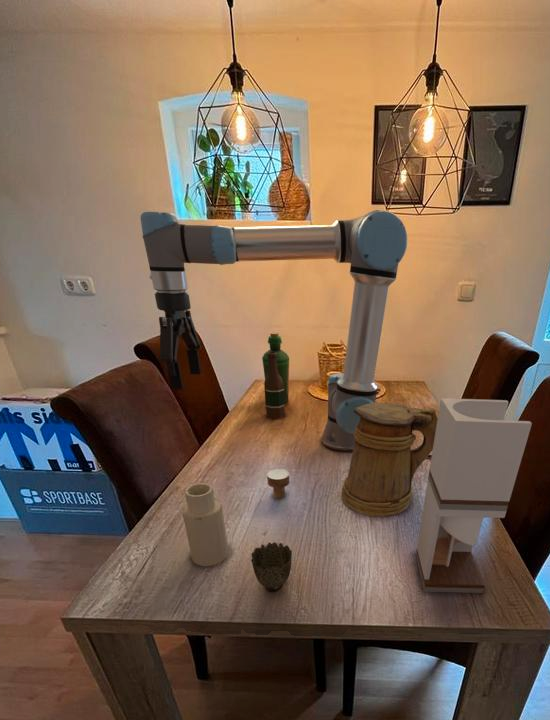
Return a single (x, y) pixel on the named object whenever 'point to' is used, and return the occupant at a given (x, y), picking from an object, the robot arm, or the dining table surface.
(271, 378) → the beer bottle
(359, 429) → the tankard
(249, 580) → the dining table surface
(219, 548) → the bottle
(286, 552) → the cup
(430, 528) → the white pedestal holder
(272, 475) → the cork
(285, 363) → the bottle
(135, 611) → the dining table surface
